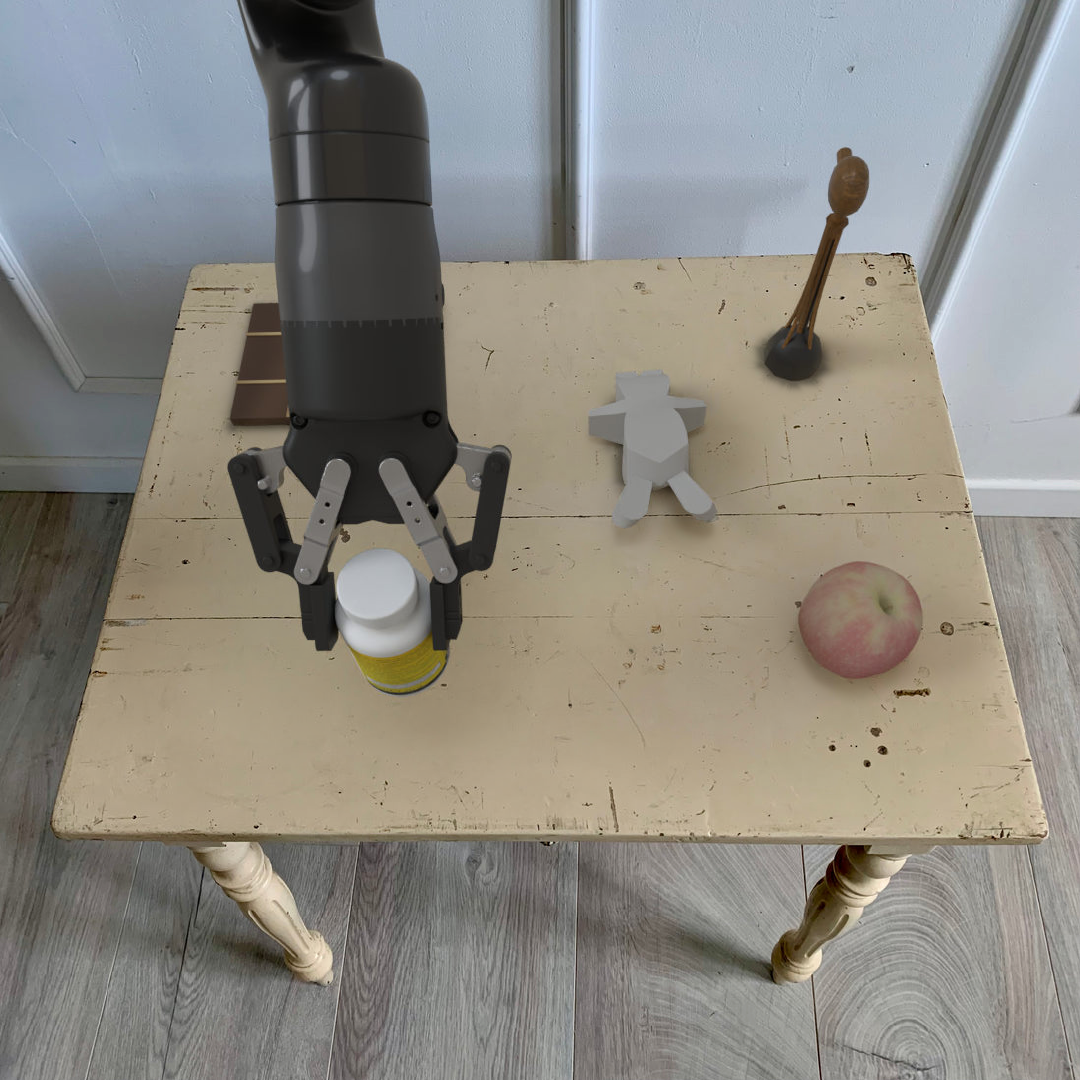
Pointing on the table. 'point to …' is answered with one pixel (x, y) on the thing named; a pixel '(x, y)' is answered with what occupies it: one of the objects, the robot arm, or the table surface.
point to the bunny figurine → (651, 444)
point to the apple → (860, 619)
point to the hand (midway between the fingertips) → (385, 644)
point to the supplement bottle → (389, 622)
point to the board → (262, 372)
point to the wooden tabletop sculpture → (818, 275)
